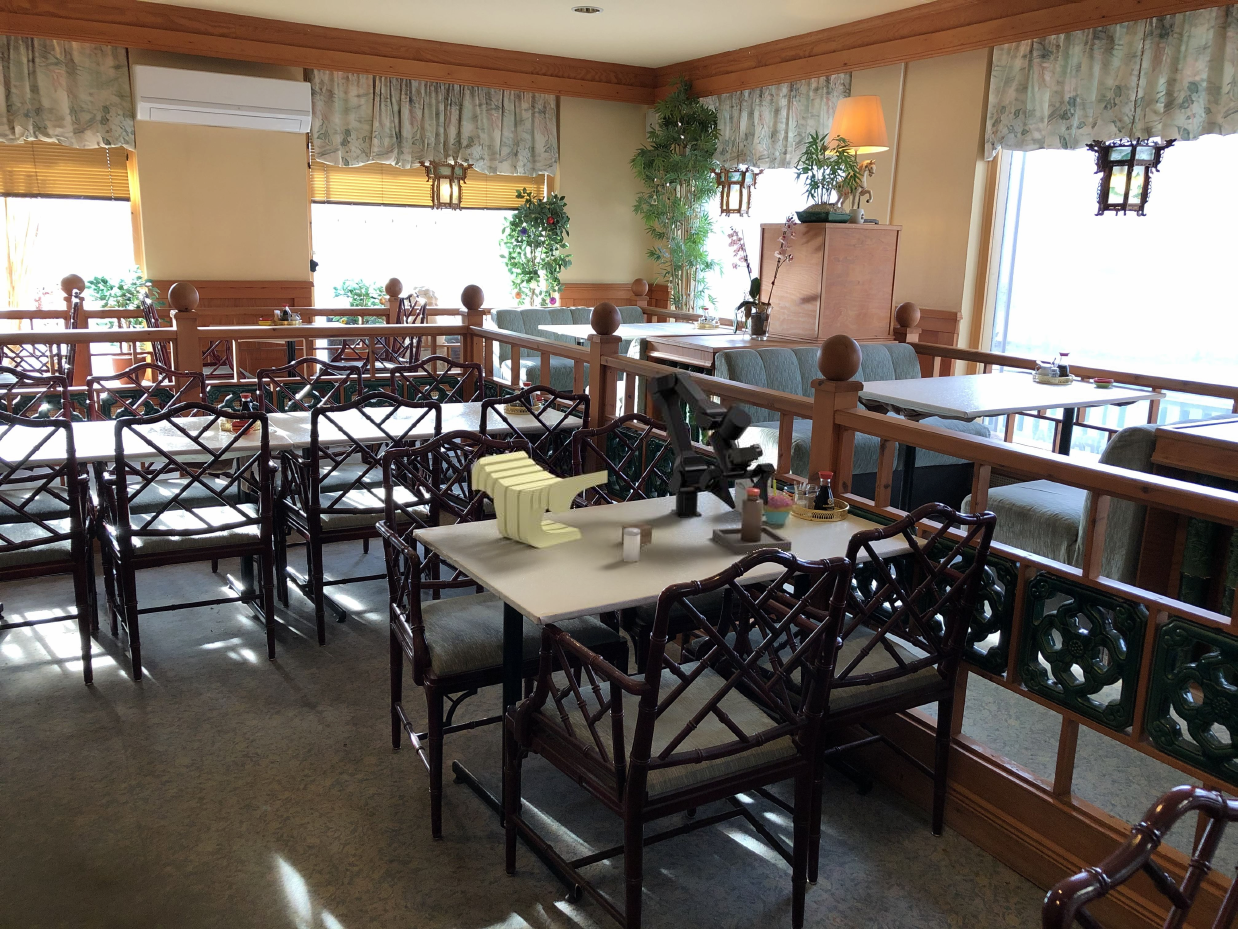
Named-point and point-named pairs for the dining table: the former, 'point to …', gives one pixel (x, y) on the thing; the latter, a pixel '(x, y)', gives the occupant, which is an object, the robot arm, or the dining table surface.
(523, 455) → the slatted curved stool
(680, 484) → the robot arm
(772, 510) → the cupcake
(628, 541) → the salt shaker
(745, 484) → the supplement box
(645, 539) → the walnut block
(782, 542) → the tray
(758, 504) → the soy bottle
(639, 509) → the dining table surface
